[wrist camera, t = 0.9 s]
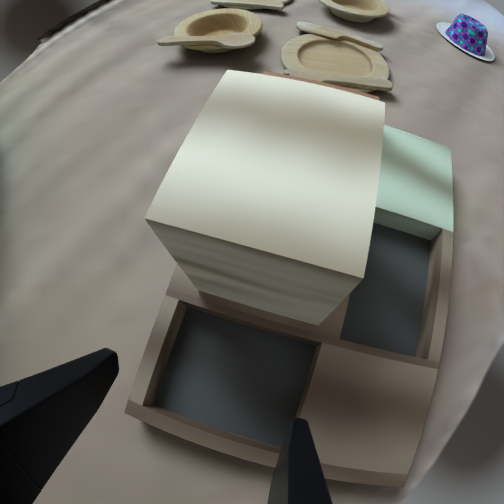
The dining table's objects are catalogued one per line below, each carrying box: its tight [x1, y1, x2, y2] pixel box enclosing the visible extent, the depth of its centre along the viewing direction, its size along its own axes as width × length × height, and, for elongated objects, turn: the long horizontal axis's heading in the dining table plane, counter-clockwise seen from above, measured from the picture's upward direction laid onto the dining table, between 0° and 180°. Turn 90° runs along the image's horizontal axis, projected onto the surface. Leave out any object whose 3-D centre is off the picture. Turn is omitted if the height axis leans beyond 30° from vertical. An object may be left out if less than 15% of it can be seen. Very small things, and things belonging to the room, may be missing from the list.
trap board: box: [125, 71, 453, 487], centre depth 21 cm, size 28×19×6 cm
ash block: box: [145, 70, 385, 326], centre depth 17 cm, size 9×8×10 cm
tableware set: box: [157, 0, 393, 93], centre depth 36 cm, size 35×29×4 cm
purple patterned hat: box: [437, 14, 495, 61], centre depth 35 cm, size 12×12×5 cm
